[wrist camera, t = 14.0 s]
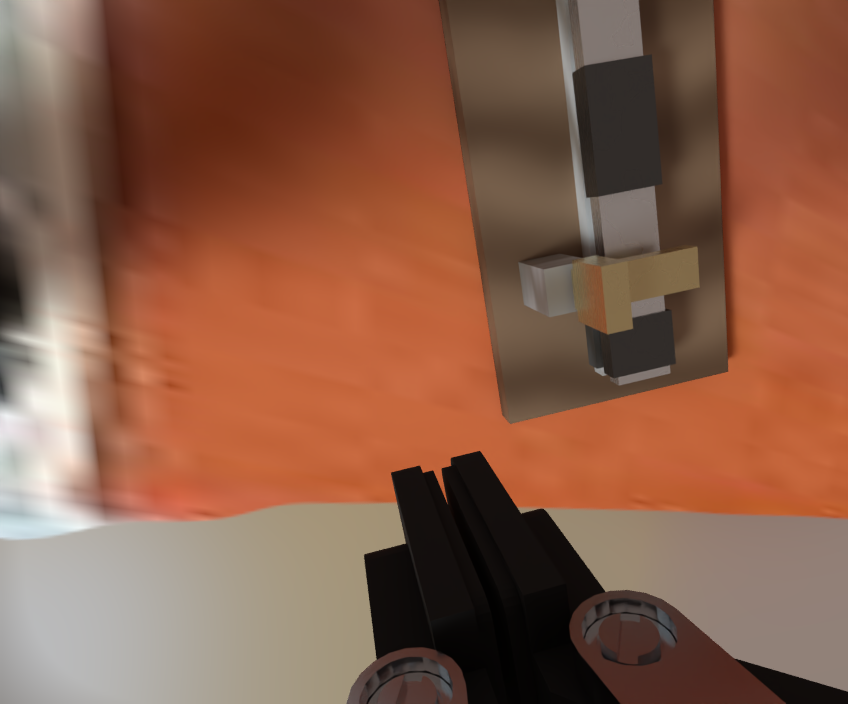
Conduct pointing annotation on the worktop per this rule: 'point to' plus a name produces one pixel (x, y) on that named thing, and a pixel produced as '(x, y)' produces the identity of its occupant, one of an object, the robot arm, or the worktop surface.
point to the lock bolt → (629, 284)
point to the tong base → (578, 192)
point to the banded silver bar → (621, 168)
